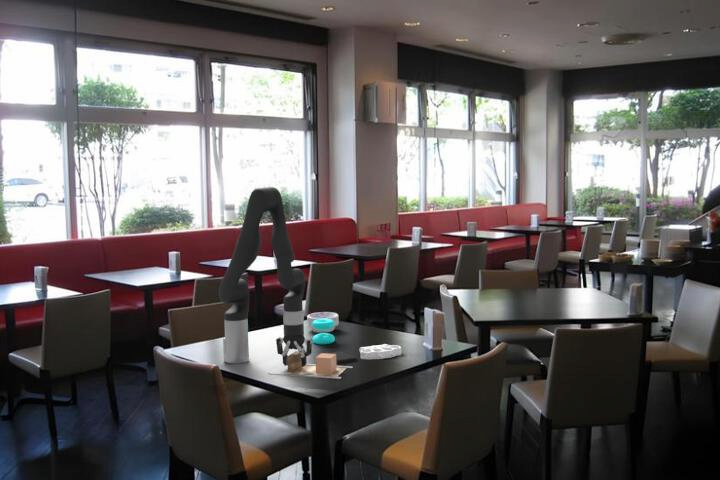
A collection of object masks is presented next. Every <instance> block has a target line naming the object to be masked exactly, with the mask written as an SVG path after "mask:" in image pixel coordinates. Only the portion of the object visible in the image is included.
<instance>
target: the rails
mask: <svg viewBox="0 0 720 480" xmlns="http://www.w3.org/2000/svg"><path fill="white" fill-rule="evenodd" d="M305 366H316V363H314V364H313V363H307V364H306V365H305ZM336 368H346V369H353V366H349V365H336ZM286 373H287V372H286ZM286 373H284V372H283V373H281V372H271V371H270V372H268V375H276V376H277V375H278V376H292V377H307V378H322V379H337V380H340V379H342V376H338V377H332V376H317V375H301V374H286Z"/></svg>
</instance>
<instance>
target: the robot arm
mask: <svg viewBox="0 0 720 480" xmlns="http://www.w3.org/2000/svg"><path fill="white" fill-rule="evenodd" d="M266 212H268V213H269V215H270V217H271V220H272V233H271V249H272V250H273V254H274V257H275V260H276V269H277V279H278V283H279V285H280V286H281V287H282V288H283V289H285V290H288V293H287V294H286V295H284V297H283V317H282V319H283V337H280V336H279V337H277V338H276V339H275V343H276V351H277V352H276V353H277V354H278V355H281V356H282V364H283V365H284V366H285V367H286V366H287V367H288V359H287V356H289V351H290V350H295V351H299V352H300V354H301V356H302V357H301V365H302V367H304V366H307V365H306V364H308V363H307V359H308V358H307V357H309V356H311V354H312V353H313V351H312V350H313V349H312V348H313V338H309V339H307V338H305V326H304V322H305V318H304V311H303V309H304V307H303V296H304V294H305V289H306V288H305V287H306V275H305V273H304V271H303V270H302V269H300V268H296V267H295V268H293V267H292V263H293V262H294V261H296V260H295V259H296V256H295V252H294V250H293V246H292V244H291V239H290V237H289V232H288V229H287V228H288V227H287V221H286V217H285V216H286V215H285V210H284V202H283V198H282V194H281V192H280V191H279V189H278V188H276V187H274V186H269V187H268V186H267V187H266V186H265V187H257V188H254V189H253V190H252V191H251V193H250V196H249V198H248V202H247V206H246V211H245V215H244V219H243V223H242V226H241V229H240V232H239V236H238V238H237V240H236V244H235V247H234V251H233V252H232V253H233V254H232V255H231V258H230V262H229V264H228V266H227V269H226V271H225V273H224V275H223V278H222V280H221V281H220V285H219V288H218V297H219V298H218V299H219V300H220V301H221V302H222V303H224V304H232V305H231V307H230V308H228V309H227V310H226V311H225V312H224V314H223V315H224V317H223V318H224V338H223V339H222V346H223V347H222V349H223V362H225V363H228V364H241V363H247V362H248V361H249V360H250V356H249V355H250V352H249V351H250V348H249V324H248V321H249V320H248V318H249V317H248V314H249V311H250V287H249V285H248V282H247V281H246V280H245V279H243V278H241V277H242V276H243V274H244V273H245V272H247V270H248V269H249V268H250V267H251V266H252V264H253V263H254V262H255V261H256V259H257V258H258V256H259V253H260V249H261V247H262V243H263V242H262V240H263V239H262V234H261V231H260V225H261V224H260V223H261V221H262V218H263V215H264V213H266ZM283 343H284V344H285V346H284V348H283ZM304 343H305V345H306V348H305V345H304Z"/></svg>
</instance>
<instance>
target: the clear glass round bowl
mask: <svg viewBox="0 0 720 480" xmlns="http://www.w3.org/2000/svg"><path fill="white" fill-rule="evenodd" d="M306 319H307V320H306V321H307V322H306V323H307V324H306V325H307V327H309V328H310V329H311V330H312V331H313V333H317V334H321V333H328V334H329V333H331V332H333V331H334V330H335V329H336V327H337V326H339V324H340V321H339V320H340V319H339V314H338V313H337V312H331V311H322V312H321V311H320V312H319V311H318V312H313V313H310V314H308V315H307V316H306ZM317 319H331V320H333V321H334V326H333V327H332V328H330V329H325V330H320V329H316V328H314V327H313V326H312V322H313V321H314V320H317Z"/></svg>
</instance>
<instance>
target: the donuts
mask: <svg viewBox="0 0 720 480" xmlns="http://www.w3.org/2000/svg"><path fill="white" fill-rule="evenodd" d="M312 326H313V327H314V328H316V329H320V330H325V329H330V328H332V327H333V326H334V321H333V320H331V319H317V320H314V321H313V322H312ZM335 340H336V338H335V336H334V334H331V333H329V332H328V333H317V334H315V335H313V337H312V343H314V344H316V345H329V344H332V343H334V342H335Z"/></svg>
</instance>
